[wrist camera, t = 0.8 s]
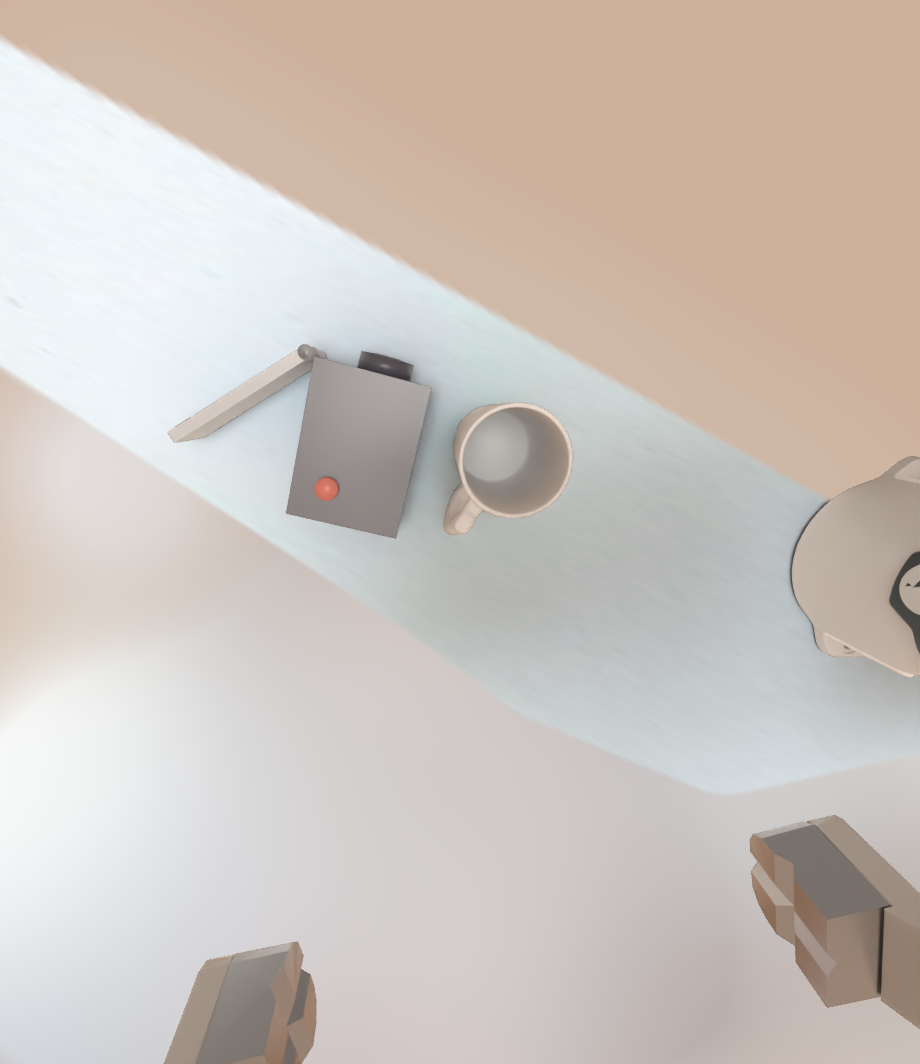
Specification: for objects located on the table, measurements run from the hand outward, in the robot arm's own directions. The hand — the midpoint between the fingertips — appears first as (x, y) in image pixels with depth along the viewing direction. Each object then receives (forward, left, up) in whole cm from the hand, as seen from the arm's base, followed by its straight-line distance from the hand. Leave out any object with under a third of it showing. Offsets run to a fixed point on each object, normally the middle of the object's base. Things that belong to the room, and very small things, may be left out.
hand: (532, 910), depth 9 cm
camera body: (+8, -3, -35) cm, 36 cm away
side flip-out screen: (+16, -5, -35) cm, 39 cm away
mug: (-1, -4, -35) cm, 35 cm away
